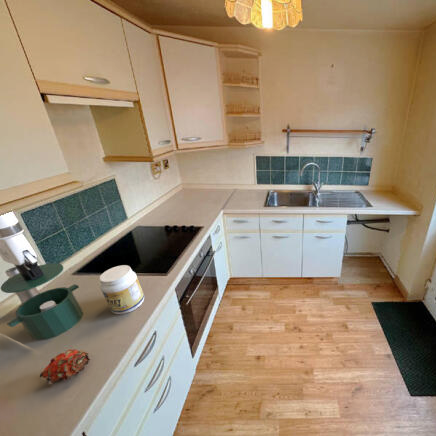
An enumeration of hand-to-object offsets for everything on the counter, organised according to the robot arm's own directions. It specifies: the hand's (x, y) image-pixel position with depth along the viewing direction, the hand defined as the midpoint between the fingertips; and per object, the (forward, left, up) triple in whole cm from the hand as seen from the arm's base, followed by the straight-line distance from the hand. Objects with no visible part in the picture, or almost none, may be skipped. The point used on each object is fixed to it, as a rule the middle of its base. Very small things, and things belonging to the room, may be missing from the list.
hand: (32, 275), depth 81 cm
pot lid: (0, 0, -1) cm, 1 cm away
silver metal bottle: (-18, +1, -23) cm, 29 cm away
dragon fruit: (+27, -12, -23) cm, 38 cm away
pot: (+1, -1, -23) cm, 23 cm away
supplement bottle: (+1, -1, -22) cm, 23 cm away
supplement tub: (+18, +15, -23) cm, 33 cm away
